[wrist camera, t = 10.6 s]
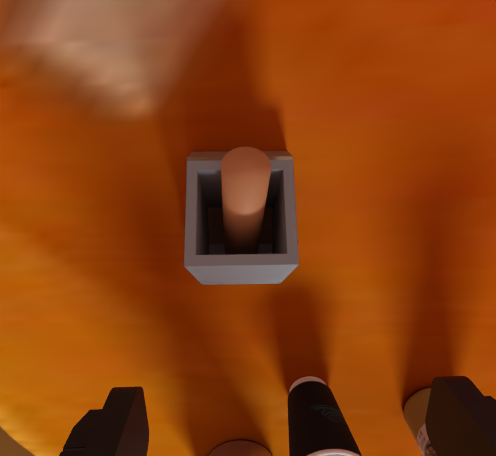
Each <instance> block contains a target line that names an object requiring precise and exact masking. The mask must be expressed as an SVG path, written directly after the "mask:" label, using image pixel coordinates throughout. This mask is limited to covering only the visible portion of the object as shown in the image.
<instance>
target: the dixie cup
mask: <svg viewBox="0 0 496 456" xmlns="http://www.w3.org/2000/svg"><path fill="white" fill-rule="evenodd" d="M288 424H289V452H290V456H362V455H361V453H360V451H359V449H358V447H357V444H356V442H355V440H354V438H353V436H352V434H351V432H350V430H349V428H348V425H347V423H346V421H345V419H344V417H343V415H342V413H341V411H340V408H339V406H338V404H337V402H336V400H335V398H334V396H333V394H332V391H331V390H330V388H329V387H328V386H327V385H326V383H325V382H324V381H323V380H322V379H320V378H318V377H313V376H307V377H302V378H300V379H298V380H296V381H295V382H294V383H293V384H292V385H291V387H290V390H289V395H288Z"/></svg>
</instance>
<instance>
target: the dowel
mask: <svg viewBox="0 0 496 456" xmlns="http://www.w3.org/2000/svg"><path fill="white" fill-rule="evenodd" d="M270 174H271V162H270V160H269V158H268V157H267V155H266V154H265V153H263V152H262V151H260V150H259V149H256V148H253V147H247V146H246V147H238V148H235V149H232V150H231V151H229V152H228V153H227V154H226V155H225V156H224V157H223V159H222V162H221V179H222V202H223V226H224V249H225V254H226V255H238V254H257V253H258V247H259V241H260V235H261V229H262V223H263V216H264V210H265V204H266V198H267V192H268V186H269V180H270Z"/></svg>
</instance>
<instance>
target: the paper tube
mask: <svg viewBox="0 0 496 456" xmlns="http://www.w3.org/2000/svg"><path fill="white" fill-rule="evenodd" d="M430 392H431V388H426V389H423V390H420V391H418V392H416V393H415V394H413V395H412V396H411V397H410V398H409V399H408V401H407V402H406V404H405V407H404V418H405V420H406V423H407V424H408V426H409V428H410V430H411V432H412V434H413V436H414V438H415V440H416V442H417V444H418V446H419V448H420V450H421V452H422V454H423V455H424V456H437V454H436V452H435V450H434V449H433V447H432V445H431V443H430V441H429V438H428V435H427V432H426V426H425V418H426V412H427V407H428V402H429V397H430Z"/></svg>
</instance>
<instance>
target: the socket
mask: <svg viewBox="0 0 496 456" xmlns="http://www.w3.org/2000/svg"><path fill="white" fill-rule="evenodd" d="M228 152H229V151H194V152H191V153H190V154H189V155H188V156H187V179H186V215H185V251H184V267H185V268H186V269H187V270H188V271H189V272H190V273H191V274H192V275H193V276H194V277H195V278H196V279H197V280H198V281H199V282H200V283H201V284H202V285H222V284H280V283H281V282H282V281H283V280H284V279H285V278H286V277H287V276H288V275H289V274H290V273H291V272H292V271H293V270H294V269H295V268H296V267H297V266H298V265H299V255H298V238H297V220H296V203H295V185H294V168H293V160H292V159H293V156H292V155H291V154H290V153H289V152H288V151H262V152H263V153H265V154H266V155H267V157H268V158H269V160H270V162H271V174H270V180H269V186H268V192H267V198H266V204H265V210H264V216H263V223H262V229H261V235H260V241H259V247H258V253H257V254H238V255H226V254H225V249H224V226H223V202H222V179H221V162H222V159H223V157H224V156H225V155H226V154H227V153H228Z"/></svg>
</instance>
